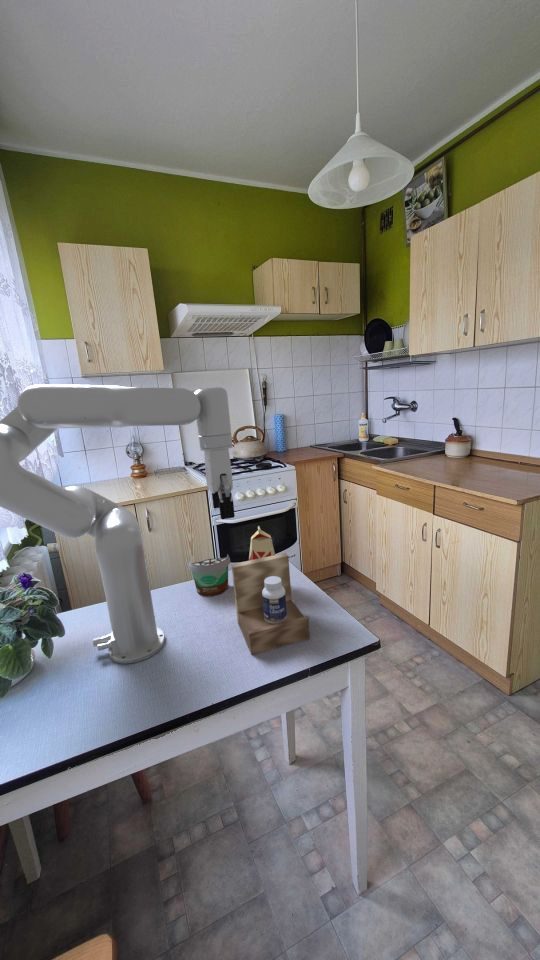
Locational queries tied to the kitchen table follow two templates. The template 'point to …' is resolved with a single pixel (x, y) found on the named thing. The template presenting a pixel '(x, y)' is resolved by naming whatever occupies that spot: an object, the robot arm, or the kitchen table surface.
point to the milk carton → (261, 545)
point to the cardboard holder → (251, 605)
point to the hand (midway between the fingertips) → (223, 512)
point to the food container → (211, 576)
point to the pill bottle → (274, 600)
